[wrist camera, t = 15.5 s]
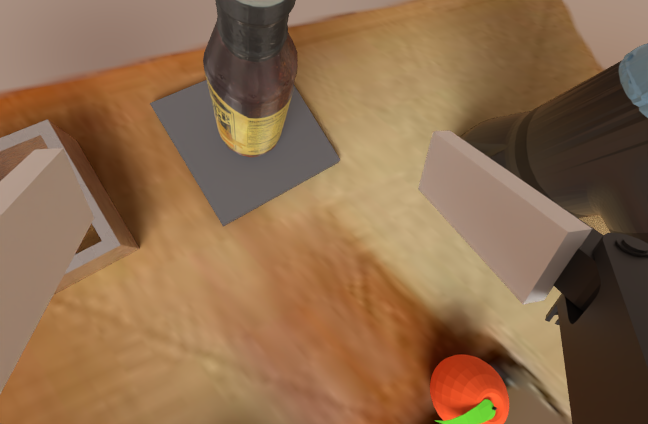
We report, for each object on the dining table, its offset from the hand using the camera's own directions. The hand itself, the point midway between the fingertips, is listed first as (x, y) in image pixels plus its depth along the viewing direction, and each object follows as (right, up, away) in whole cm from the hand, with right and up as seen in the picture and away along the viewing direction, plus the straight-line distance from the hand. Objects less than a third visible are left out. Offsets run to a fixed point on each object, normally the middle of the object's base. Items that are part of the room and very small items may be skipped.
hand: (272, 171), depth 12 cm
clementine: (+14, -20, +22) cm, 33 cm away
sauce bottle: (-6, +7, +21) cm, 23 cm away
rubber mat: (-6, +6, +22) cm, 24 cm away
